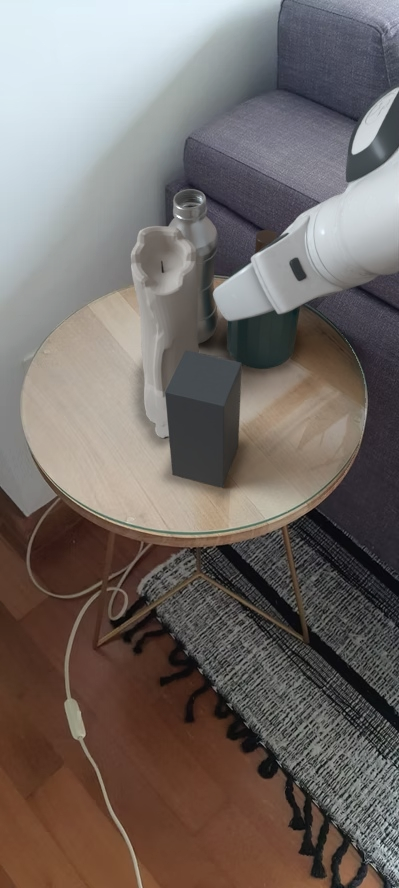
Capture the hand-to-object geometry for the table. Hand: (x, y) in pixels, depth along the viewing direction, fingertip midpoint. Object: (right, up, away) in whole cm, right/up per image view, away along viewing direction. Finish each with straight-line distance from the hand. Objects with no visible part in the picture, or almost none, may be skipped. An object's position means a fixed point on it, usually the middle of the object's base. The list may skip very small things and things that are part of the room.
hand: (260, 278), depth 82 cm
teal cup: (+1, -7, +8) cm, 11 cm away
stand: (-7, -22, -3) cm, 23 cm away
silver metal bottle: (-8, -5, +10) cm, 14 cm away
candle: (-11, -14, +3) cm, 17 cm away
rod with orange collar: (0, -5, +6) cm, 8 cm away
